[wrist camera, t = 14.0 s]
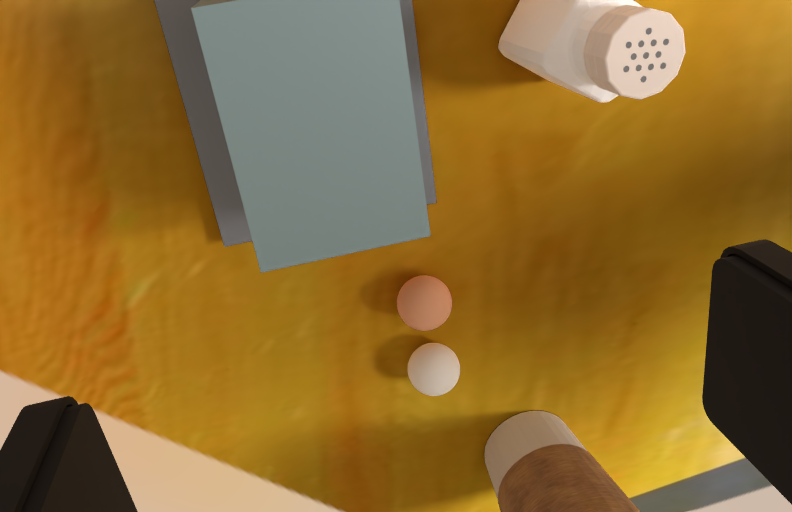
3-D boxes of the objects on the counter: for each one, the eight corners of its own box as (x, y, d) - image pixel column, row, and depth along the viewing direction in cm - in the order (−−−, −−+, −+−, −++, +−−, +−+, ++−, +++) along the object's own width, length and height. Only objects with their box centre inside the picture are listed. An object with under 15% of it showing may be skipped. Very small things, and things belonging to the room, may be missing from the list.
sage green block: (365, -31, 29) (396, -27, 23) (397, 183, 33) (430, 236, 27) (204, -4, 28) (190, 8, 22) (259, 211, 32) (261, 272, 26)
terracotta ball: (441, 261, 36) (455, 285, 34) (446, 307, 38) (461, 334, 35) (388, 272, 36) (399, 297, 33) (396, 318, 37) (407, 346, 35)
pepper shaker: (596, 9, 32) (717, 28, 24) (554, 84, 34) (655, 128, 25) (531, -31, 31) (635, -26, 23) (489, 49, 32) (573, 82, 24)
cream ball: (449, 327, 38) (464, 355, 36) (454, 369, 40) (469, 399, 37) (399, 339, 38) (410, 368, 35) (406, 381, 39) (417, 412, 37)
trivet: (399, -75, 29) (402, -76, 28) (433, 197, 35) (436, 202, 34) (146, -36, 28) (144, -36, 27) (225, 240, 34) (224, 246, 33)
